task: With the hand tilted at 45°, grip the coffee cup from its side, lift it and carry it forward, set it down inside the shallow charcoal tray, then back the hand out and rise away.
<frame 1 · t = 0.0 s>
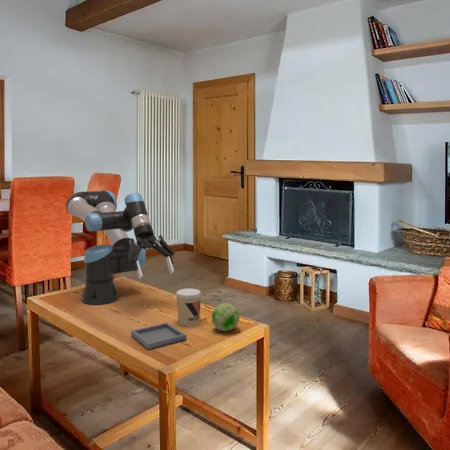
hand: (156, 275, 181), 15 cm above the table, tool tilted 35°, fingers open, 13 cm apart
coffee cup: (189, 323, 172), on the table
decorative ball: (225, 330, 165), on the table
tray: (158, 338, 157), on the table
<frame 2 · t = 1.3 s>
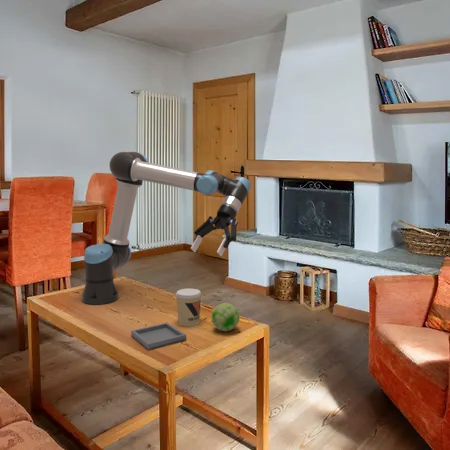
hand: (205, 252, 178), 25 cm above the table, tool tilted 45°, fingers open, 13 cm apart
nothing on the table moved.
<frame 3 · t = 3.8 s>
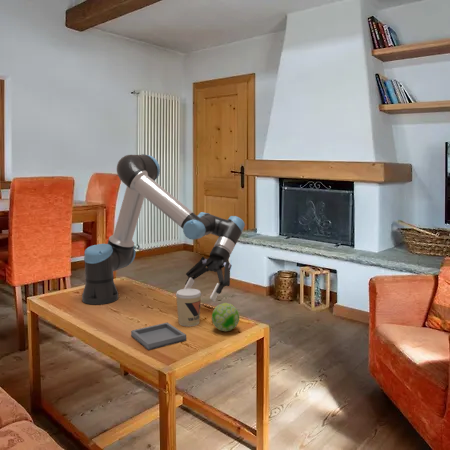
hand: (198, 296, 173), 9 cm above the table, tool tilted 45°, fingers open, 13 cm apart
nothing on the table moved.
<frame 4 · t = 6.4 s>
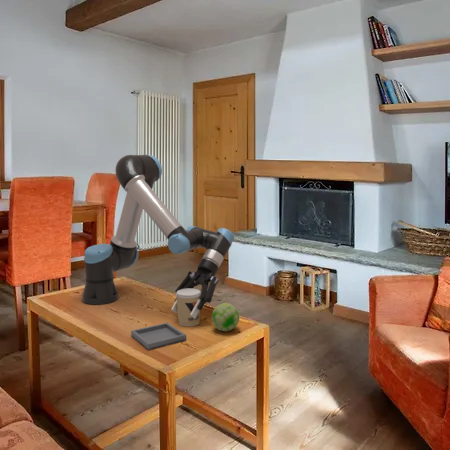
hand: (182, 313, 169), 4 cm above the table, tool tilted 45°, fingers closed on coffee cup, 9 cm apart
coffee cup: (189, 323, 172), on the table, touching gripper
everything else where it was.
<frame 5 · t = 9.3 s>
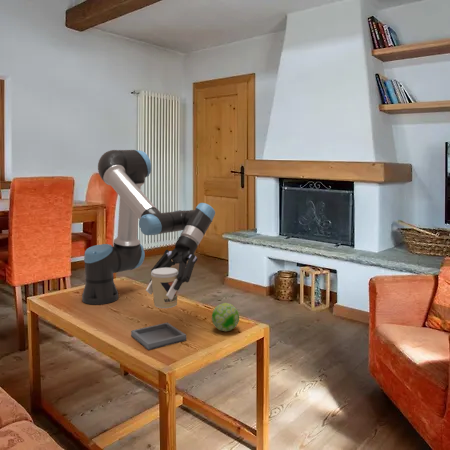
hand: (158, 294, 155), 16 cm above the table, tool tilted 45°, fingers closed on coffee cup, 9 cm apart
coffee cup: (165, 305, 158), point 11 cm above the table, touching gripper
everything else where it was.
when the fingers open (7 cm above the table, at t = 12.2 s): coffee cup drops 2 cm, resting on tray.
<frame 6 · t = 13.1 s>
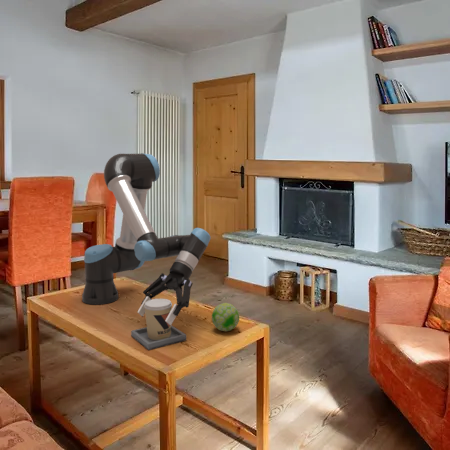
hand: (153, 318, 155), 8 cm above the table, tool tilted 45°, fingers open, 13 cm apart
coffee cup: (159, 336, 158), resting on tray
everything else where it was.
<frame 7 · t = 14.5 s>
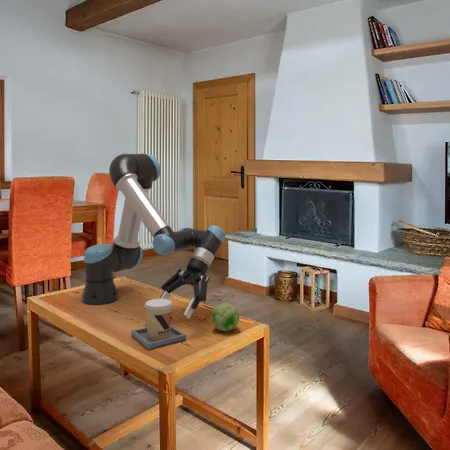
hand: (172, 312, 161), 7 cm above the table, tool tilted 45°, fingers open, 13 cm apart
nothing on the table moved.
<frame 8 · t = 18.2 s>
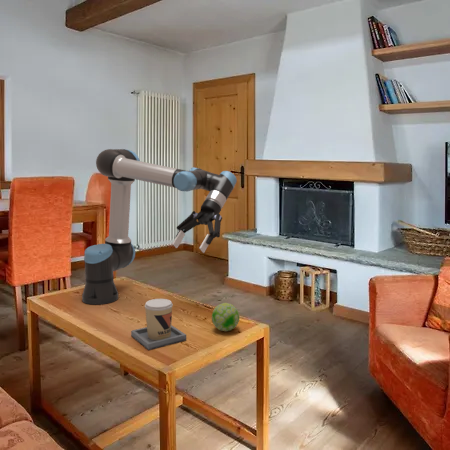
hand: (187, 248, 172), 28 cm above the table, tool tilted 45°, fingers open, 13 cm apart
nothing on the table moved.
at the end: coffee cup 0.4 cm off-centre on the tray, point 0.4 cm above the tray's base; coffee cup tilted 0°; the gripper is holding nothing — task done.
